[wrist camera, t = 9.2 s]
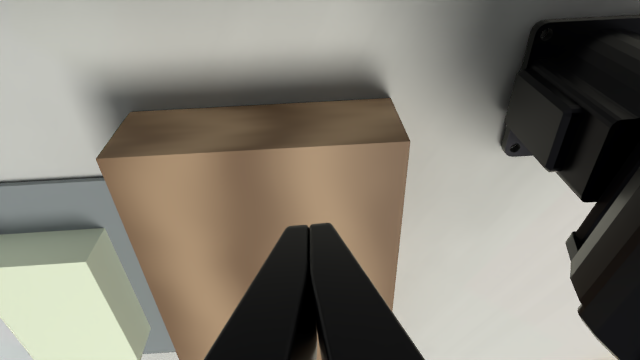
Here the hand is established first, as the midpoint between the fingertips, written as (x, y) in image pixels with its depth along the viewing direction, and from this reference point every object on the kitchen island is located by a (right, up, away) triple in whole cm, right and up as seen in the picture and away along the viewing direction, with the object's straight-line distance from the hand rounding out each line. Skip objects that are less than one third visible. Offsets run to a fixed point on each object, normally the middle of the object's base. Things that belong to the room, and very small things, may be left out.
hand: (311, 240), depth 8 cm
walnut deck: (-2, -4, +17) cm, 18 cm away
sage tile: (-14, -7, +15) cm, 22 cm away
